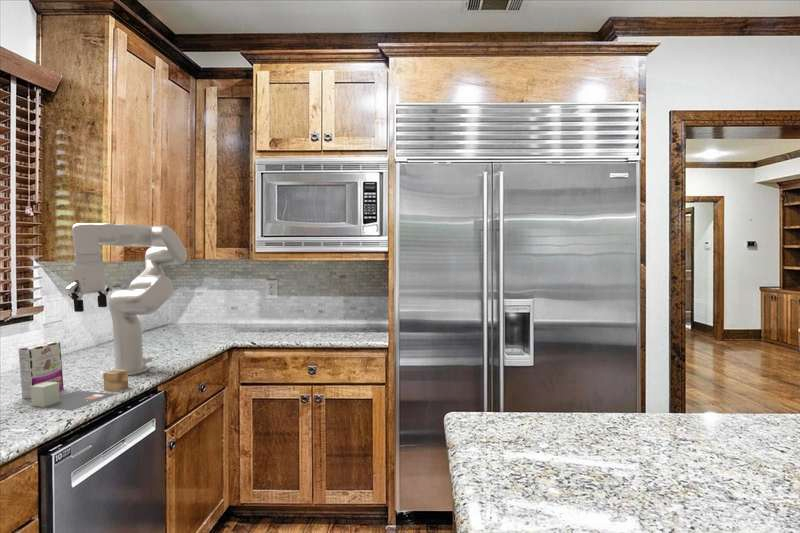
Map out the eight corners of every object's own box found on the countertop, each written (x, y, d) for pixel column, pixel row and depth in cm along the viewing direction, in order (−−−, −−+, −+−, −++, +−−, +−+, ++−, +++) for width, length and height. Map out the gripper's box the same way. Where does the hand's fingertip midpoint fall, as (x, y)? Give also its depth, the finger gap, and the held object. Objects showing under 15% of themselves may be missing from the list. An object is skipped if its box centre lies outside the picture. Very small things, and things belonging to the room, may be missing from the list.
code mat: (77, 391, 164) (77, 390, 164) (117, 394, 159) (117, 394, 159) (29, 406, 148) (29, 405, 148) (71, 411, 143) (71, 410, 143)
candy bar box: (51, 388, 168) (49, 341, 167) (64, 389, 167) (61, 341, 166) (20, 398, 157) (17, 348, 156) (33, 399, 156) (30, 348, 155)
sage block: (48, 400, 154) (46, 381, 153) (59, 401, 152) (58, 382, 152) (31, 405, 149) (30, 386, 148) (44, 406, 147) (42, 387, 147)
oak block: (116, 386, 168) (115, 369, 168) (128, 387, 167) (127, 370, 167) (104, 390, 164) (103, 373, 163) (115, 391, 162) (115, 374, 162)
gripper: (99, 258, 177) (102, 305, 178) (55, 261, 160) (59, 313, 161) (116, 258, 175) (119, 305, 176) (74, 261, 158) (78, 313, 159)
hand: (91, 309), depth 169 cm, fingers open, 9 cm apart
